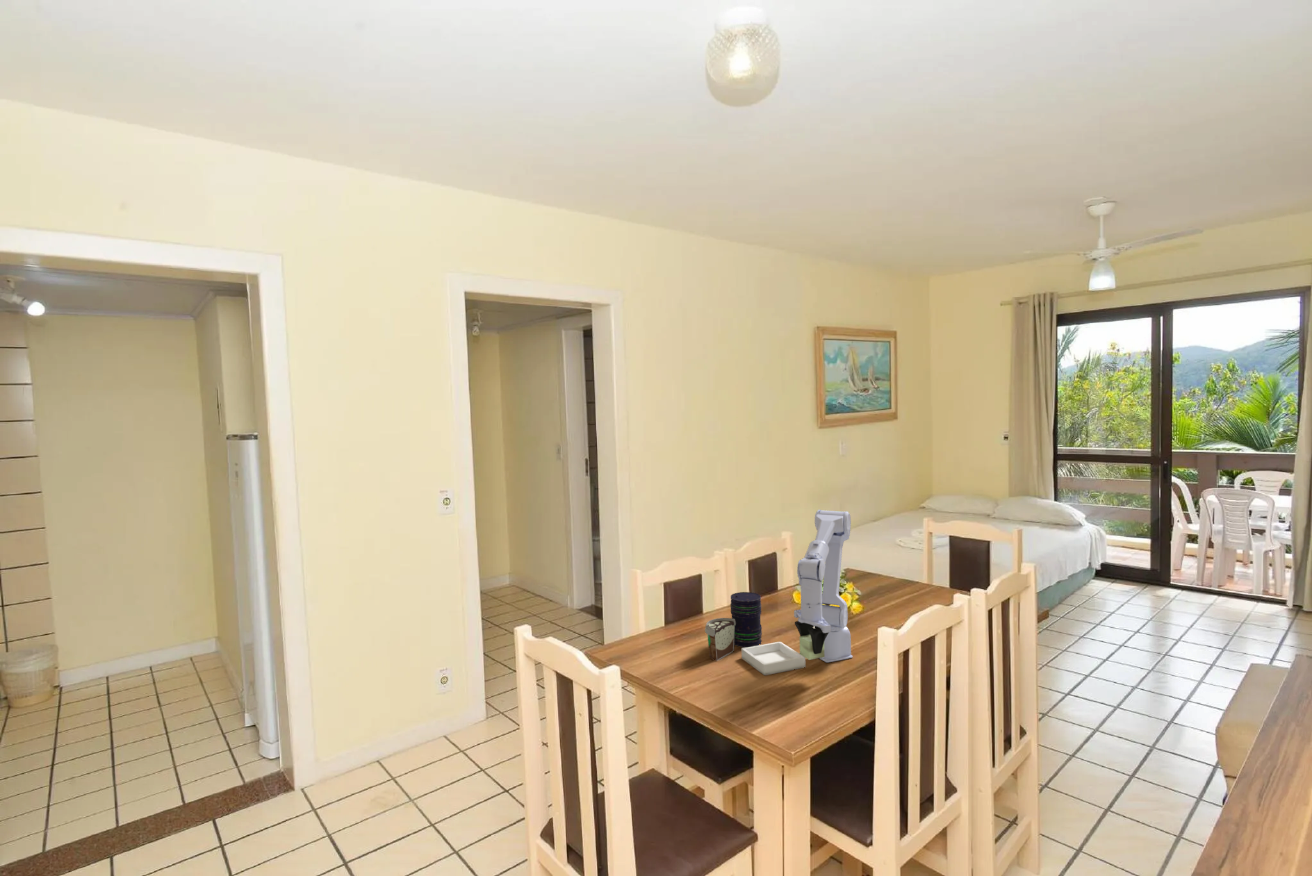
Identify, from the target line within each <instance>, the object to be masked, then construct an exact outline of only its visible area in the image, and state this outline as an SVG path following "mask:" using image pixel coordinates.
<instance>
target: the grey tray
mask: <svg viewBox="0 0 1312 876" xmlns="http://www.w3.org/2000/svg"><path fill="white" fill-rule="evenodd" d="M741 659H742V660H743V661H744V662H746V663H747V664H748V665H750V666H751V667H753V668H754V669H755V670H757V671H758V672H759V673H760V674H762V675H763V676H770V675H772V674H773V675H774V674H778V673H783V672H789V671H793V670H794V669H795V670H799V669H804V667H805V668H806V658H805V657H804V656H802V655H800V652H798V651H796V650H795V649H793V648H791V647H790V646H788V645H787V644H784V643H783V642H782V641H776V642H775V641H774V642H771V643H765V644H760V645H758V646H753V647H741Z"/></svg>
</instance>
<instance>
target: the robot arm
mask: <svg viewBox="0 0 1312 876" xmlns="http://www.w3.org/2000/svg"><path fill="white" fill-rule="evenodd" d="M849 512H850V511H846V510H845V511H843V510H842V511H838V510H837V511H836V510H826V509H825V510H822V509H817V511H816V512H815V514H814V526H815V529H816V535H815V538H814V539H815V540H811V541H810V543H809V545H808V547H807V550H806V552H805V555H804V557H803V558H801V559H799V560H798V562H797V566H796V567H797V571H796V573H797V577H798V585H799V586H800V609H795V610H794V611H793V617H794V618H797V621H794V626H795V627H796V629H797V630H798V633H799V637H800V636H805V635H810V636H811V639H812V646H813V652H814V654H819V653H821V652H822V648H823V644H824V657H821V658H819V659H820V660H822V661H824V662H825V663H831V662H832V663H833V662H838V661H843V660H847V659H852V658H853V655H852V640H851V637H852V635H851V632H850V629H849V628H848V626H847V624H848V621H849V619H848V618H849V617H848V616H849V613H848V604H847V601H845V599H843V598H842V597H841V596H840V594H839V592H840V581H841V570H842V557H843V555H842V554H843V547H844V543H845V541H847V540H850V536H851V526H852V525H851V524H852V519H851V513H849ZM822 581H823V582H822Z"/></svg>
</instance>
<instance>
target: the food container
mask: <svg viewBox="0 0 1312 876" xmlns="http://www.w3.org/2000/svg"><path fill="white" fill-rule="evenodd" d="M735 625H736V622H735V619H732V617H731V618H729V617H720V618H719V617H718V618H714V619H710V620H708V621H707V622H706V624H705V629H704V632H705V633H706V636H707V644H708V646H707V647H708V654H709V658H710V659H711V660H714V661H716V662H718V661H720V660H721V659H723V658H725V657H727V656H728V655H730V654H732V653H734V652H733V651H735V645H734V631H735Z"/></svg>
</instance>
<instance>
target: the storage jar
mask: <svg viewBox="0 0 1312 876" xmlns="http://www.w3.org/2000/svg"><path fill="white" fill-rule="evenodd" d="M730 614H731V618H732V619H735V622H736V625H735V631H734V646H736V647H739V646H740V648H747V647H753V646H758V645H759V644H760V645H762V643H761V642H762V641H763V640H762V635H763V633H762V632H763V630H762V629H763V627H762V625H761V615H762V597H761V595H760V594H759V593H754V592H749V591H740V592H734V593H732V594H731V595H730Z"/></svg>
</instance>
